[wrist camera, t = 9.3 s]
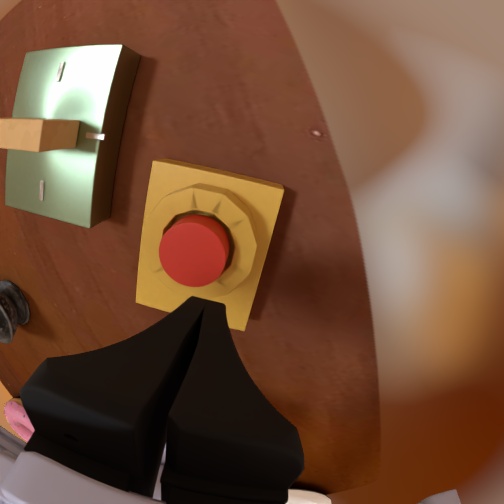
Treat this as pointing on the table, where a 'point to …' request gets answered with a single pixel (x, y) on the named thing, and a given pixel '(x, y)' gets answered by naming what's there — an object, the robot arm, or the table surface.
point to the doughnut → (18, 418)
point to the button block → (221, 210)
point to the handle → (38, 133)
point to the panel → (89, 133)
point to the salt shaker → (11, 310)
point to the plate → (306, 497)
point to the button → (194, 250)
